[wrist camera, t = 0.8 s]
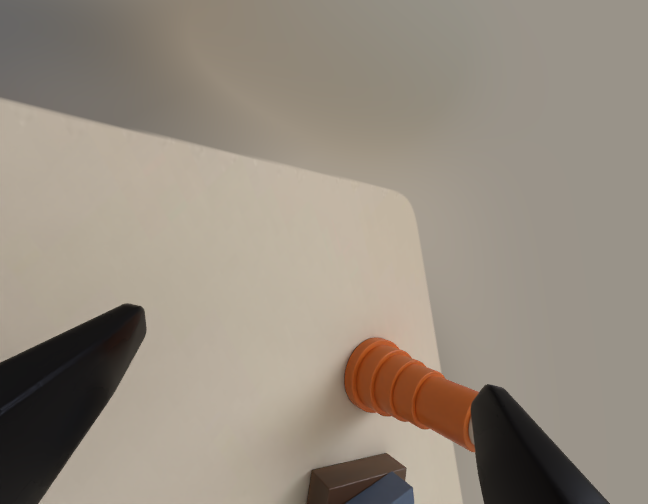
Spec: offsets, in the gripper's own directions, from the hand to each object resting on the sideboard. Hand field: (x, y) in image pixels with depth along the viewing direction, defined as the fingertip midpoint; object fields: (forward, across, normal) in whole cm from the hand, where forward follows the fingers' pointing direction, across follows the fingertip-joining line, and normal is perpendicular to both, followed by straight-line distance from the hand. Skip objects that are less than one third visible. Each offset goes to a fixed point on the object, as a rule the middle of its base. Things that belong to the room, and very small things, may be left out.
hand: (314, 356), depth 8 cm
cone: (+13, -7, +16) cm, 21 cm away
